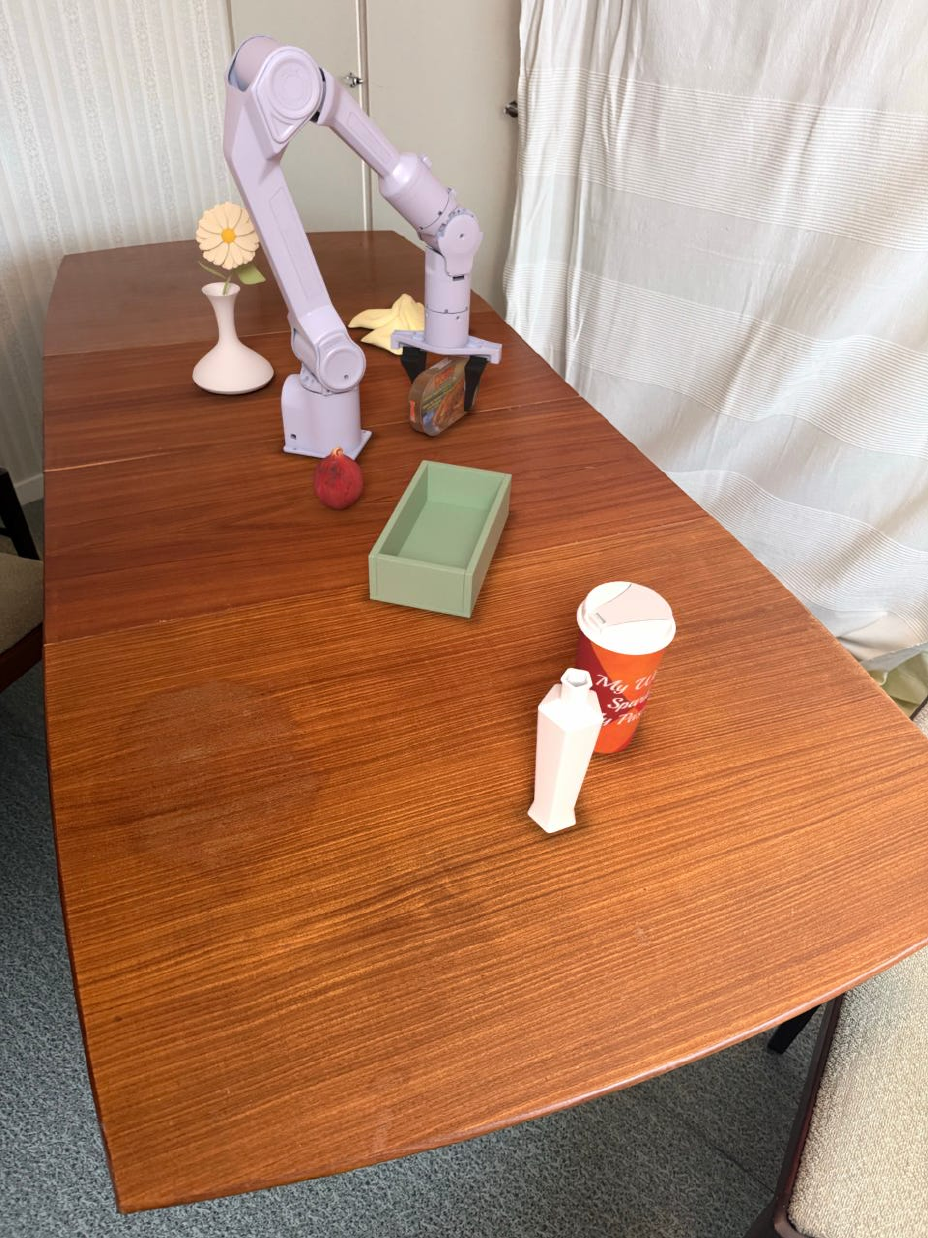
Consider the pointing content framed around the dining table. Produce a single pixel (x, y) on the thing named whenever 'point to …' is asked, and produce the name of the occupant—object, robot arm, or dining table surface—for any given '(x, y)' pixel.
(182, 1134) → the dining table surface
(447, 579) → the open rectangular box
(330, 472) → the pomegranate
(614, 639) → the paper cup
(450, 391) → the tin
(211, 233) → the flower in vase
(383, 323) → the cloth
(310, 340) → the robot arm
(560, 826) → the white tall faceted bottle
